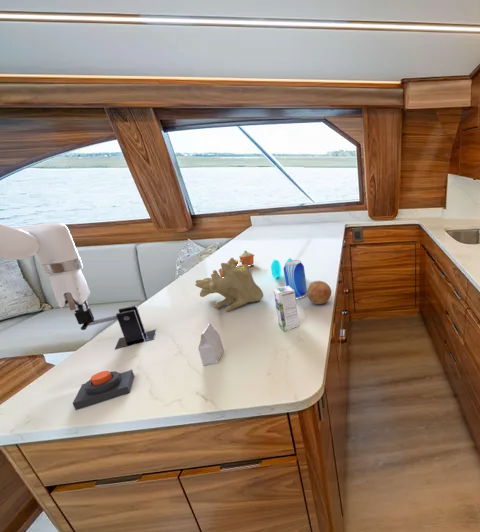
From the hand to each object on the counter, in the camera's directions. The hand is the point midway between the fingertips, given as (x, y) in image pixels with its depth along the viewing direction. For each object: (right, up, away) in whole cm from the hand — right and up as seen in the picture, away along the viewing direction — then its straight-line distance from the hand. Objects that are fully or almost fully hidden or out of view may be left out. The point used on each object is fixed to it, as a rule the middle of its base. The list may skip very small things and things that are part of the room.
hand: (86, 322), depth 92 cm
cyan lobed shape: (+36, +11, +64) cm, 75 cm away
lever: (+4, -1, +3) cm, 5 cm away
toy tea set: (+5, +15, +76) cm, 77 cm away
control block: (+21, -16, -15) cm, 30 cm away
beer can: (+51, +4, +41) cm, 66 cm away
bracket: (+8, -8, +8) cm, 14 cm away
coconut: (+64, +2, +34) cm, 72 cm away
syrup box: (+57, -5, +16) cm, 59 cm away
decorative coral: (+26, +1, +35) cm, 43 cm away
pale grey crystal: (+40, -11, -1) cm, 42 cm away
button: (+21, -12, -16) cm, 29 cm away
